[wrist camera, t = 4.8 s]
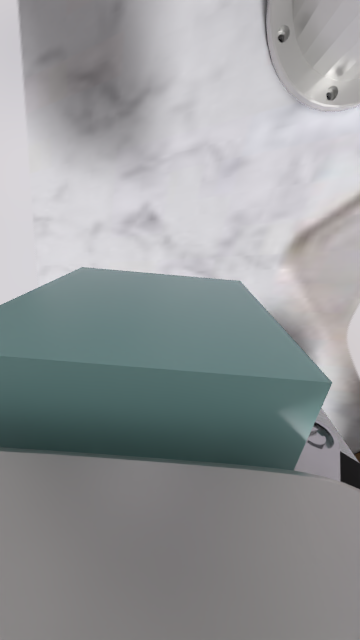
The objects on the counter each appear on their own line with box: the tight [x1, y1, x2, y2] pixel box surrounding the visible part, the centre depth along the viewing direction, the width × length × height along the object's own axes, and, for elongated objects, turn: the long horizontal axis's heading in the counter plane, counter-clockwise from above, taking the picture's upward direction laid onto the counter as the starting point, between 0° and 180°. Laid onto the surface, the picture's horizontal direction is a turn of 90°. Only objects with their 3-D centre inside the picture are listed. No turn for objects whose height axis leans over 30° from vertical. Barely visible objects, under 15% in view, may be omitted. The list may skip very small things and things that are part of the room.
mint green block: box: [0, 267, 332, 470], centre depth 9 cm, size 8×8×8 cm
